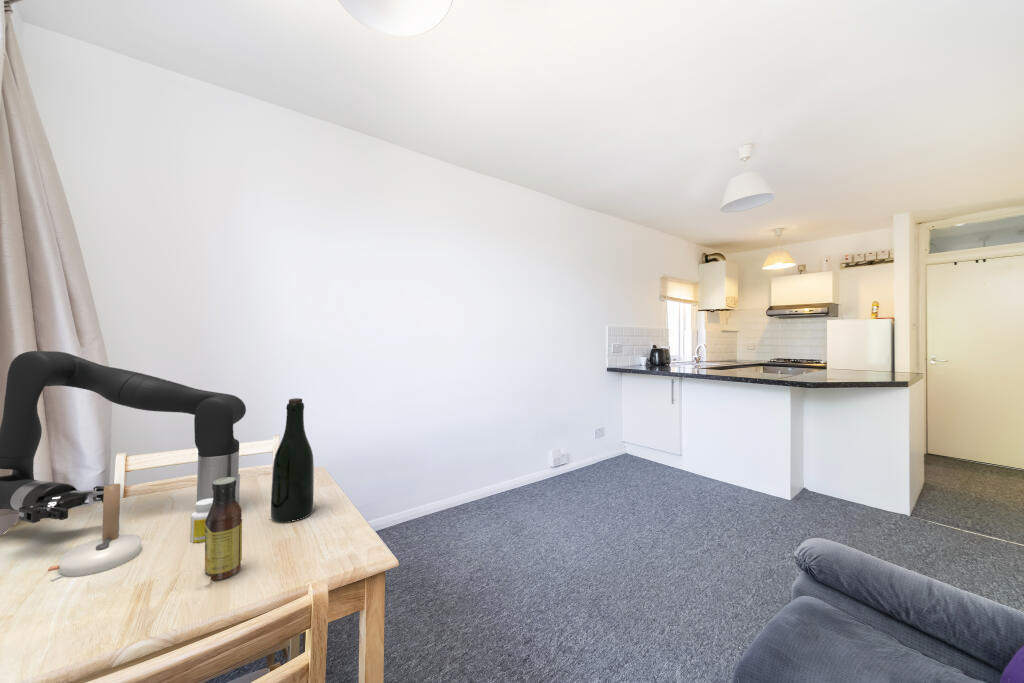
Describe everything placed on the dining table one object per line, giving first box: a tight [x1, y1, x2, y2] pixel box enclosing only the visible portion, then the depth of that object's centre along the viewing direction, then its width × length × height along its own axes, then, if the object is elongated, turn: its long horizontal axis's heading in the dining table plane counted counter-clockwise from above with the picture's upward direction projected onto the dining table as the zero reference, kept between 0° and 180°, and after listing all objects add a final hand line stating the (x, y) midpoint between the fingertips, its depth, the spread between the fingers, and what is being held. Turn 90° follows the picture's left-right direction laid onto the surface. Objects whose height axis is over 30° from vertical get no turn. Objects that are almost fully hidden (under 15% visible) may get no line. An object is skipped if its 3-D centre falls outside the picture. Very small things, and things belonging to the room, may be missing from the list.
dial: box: [58, 483, 142, 578], centre depth 82 cm, size 12×12×14 cm
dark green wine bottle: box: [270, 397, 315, 523], centre depth 107 cm, size 10×10×33 cm
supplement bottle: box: [189, 498, 213, 544], centre depth 92 cm, size 5×5×10 cm
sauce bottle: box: [204, 477, 243, 581], centre depth 80 cm, size 7×6×20 cm
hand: (91, 506), depth 87 cm, fingers open, 8 cm apart
